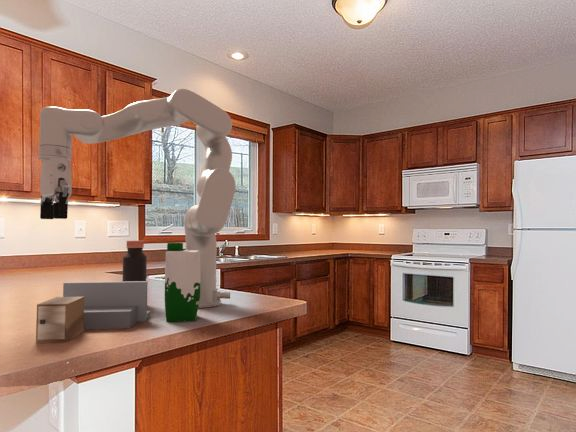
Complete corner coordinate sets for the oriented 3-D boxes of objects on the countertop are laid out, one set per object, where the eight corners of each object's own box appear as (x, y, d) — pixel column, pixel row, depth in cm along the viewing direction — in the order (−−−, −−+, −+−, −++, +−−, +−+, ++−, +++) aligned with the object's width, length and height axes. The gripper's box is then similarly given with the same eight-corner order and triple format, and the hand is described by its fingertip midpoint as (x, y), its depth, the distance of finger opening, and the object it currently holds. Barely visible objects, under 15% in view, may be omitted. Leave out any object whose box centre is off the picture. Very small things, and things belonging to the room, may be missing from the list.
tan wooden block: (83, 331, 90) (84, 296, 91) (65, 343, 81) (66, 304, 81) (55, 332, 90) (56, 297, 90) (33, 344, 80) (35, 305, 80)
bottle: (146, 307, 118) (147, 241, 118) (121, 308, 115) (123, 241, 116) (145, 303, 124) (146, 240, 125) (122, 304, 121) (123, 240, 122)
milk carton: (167, 315, 107) (168, 242, 107) (200, 314, 108) (201, 242, 109) (162, 323, 98) (163, 243, 99) (198, 322, 99) (199, 243, 100)
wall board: (150, 316, 106) (150, 279, 106) (138, 328, 93) (139, 285, 93) (71, 318, 103) (72, 280, 103) (49, 330, 91) (50, 287, 91)
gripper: (83, 153, 101) (81, 218, 100) (59, 160, 113) (57, 219, 112) (51, 148, 95) (48, 218, 95) (29, 156, 107) (26, 218, 106)
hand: (53, 218), depth 103 cm, fingers open, 9 cm apart
